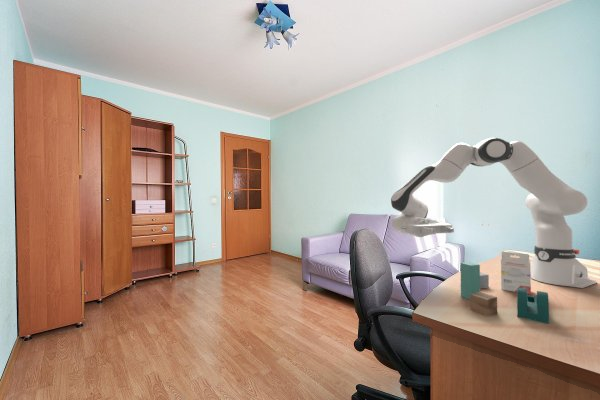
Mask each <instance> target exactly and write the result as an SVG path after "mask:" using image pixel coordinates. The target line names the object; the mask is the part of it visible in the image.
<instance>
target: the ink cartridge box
mask: <svg viewBox="0 0 600 400" xmlns="http://www.w3.org/2000/svg"><path fill="white" fill-rule="evenodd" d="M513 256H516V257H513ZM530 272H531V261H530V254H528V253H520V252H510V251H501V259H500V274H501V275H500V276H501V277H500V279H501V280H500V281H501V282H500V285H501V290H503V291H509V292H514V293H517V288H523V289H527V295H531V292H532V291H531V289H532V287H531V286H532V285H531V284H532V283H531V282H532V281H531V279H532V278H531V273H530Z"/></svg>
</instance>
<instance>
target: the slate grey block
mask: <svg viewBox="0 0 600 400" xmlns="http://www.w3.org/2000/svg"><path fill="white" fill-rule="evenodd" d="M489 278H490V277H489V274H486V273H484V272H480V289H486V288H489V287H490V286H489Z"/></svg>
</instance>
